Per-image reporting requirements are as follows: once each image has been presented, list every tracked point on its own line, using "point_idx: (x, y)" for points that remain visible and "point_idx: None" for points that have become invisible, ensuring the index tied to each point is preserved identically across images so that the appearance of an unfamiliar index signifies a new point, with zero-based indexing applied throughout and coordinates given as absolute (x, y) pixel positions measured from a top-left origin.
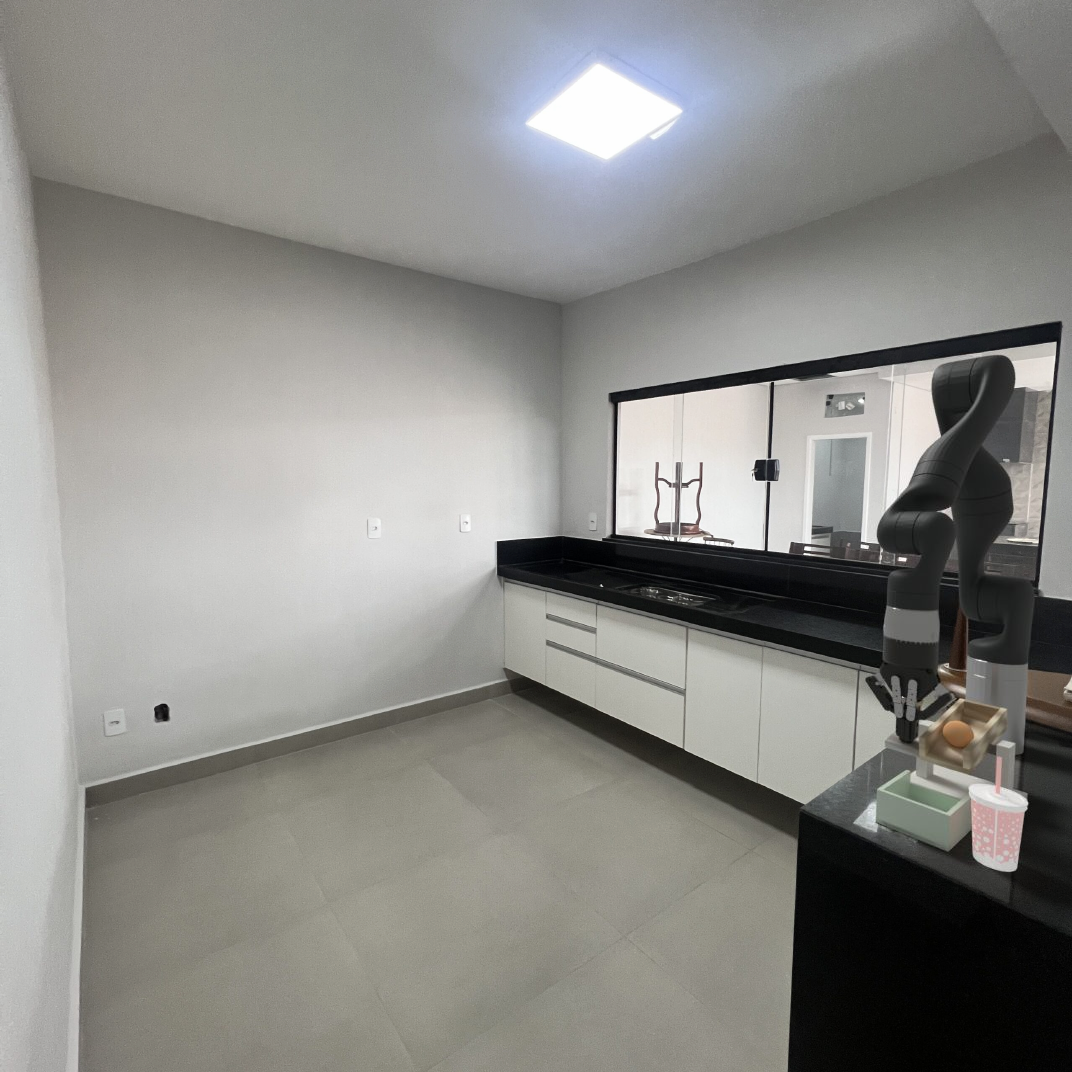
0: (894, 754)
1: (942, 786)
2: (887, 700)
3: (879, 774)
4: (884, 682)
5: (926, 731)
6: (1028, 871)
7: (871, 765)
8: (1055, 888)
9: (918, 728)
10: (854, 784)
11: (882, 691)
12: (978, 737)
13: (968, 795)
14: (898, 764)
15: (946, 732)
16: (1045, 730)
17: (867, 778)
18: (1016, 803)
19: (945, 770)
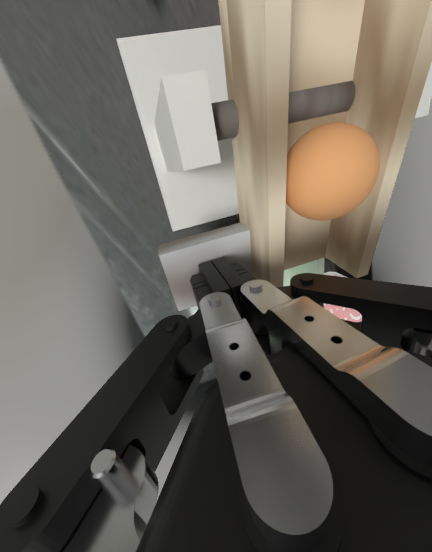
0: (3, 29)
1: (220, 170)
2: (189, 392)
3: (114, 213)
4: (148, 477)
5: (272, 270)
6: (349, 274)
7: (67, 186)
8: (367, 278)
9: (249, 273)
10: (135, 292)
11: (160, 433)
12: (388, 187)
13: (320, 273)
14: (78, 108)
15: (308, 218)
16: None
17: (123, 252)
18: None
19: (173, 58)
